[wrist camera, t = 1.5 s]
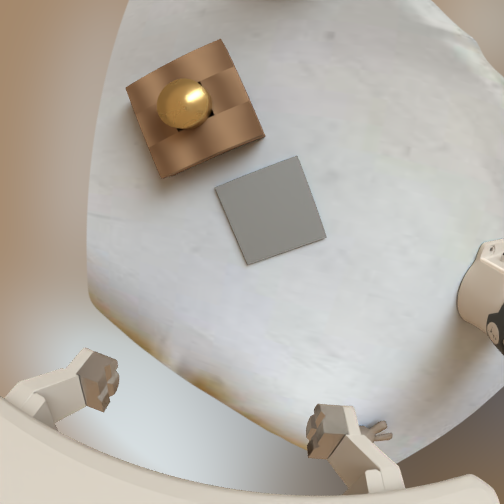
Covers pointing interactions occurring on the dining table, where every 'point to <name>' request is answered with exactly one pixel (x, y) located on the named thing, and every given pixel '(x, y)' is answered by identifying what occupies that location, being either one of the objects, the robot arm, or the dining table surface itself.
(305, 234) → the rubber mat
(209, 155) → the walnut block
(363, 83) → the dining table surface
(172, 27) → the dining table surface
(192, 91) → the brass knob
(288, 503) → the robot arm
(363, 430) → the bunny figurine
